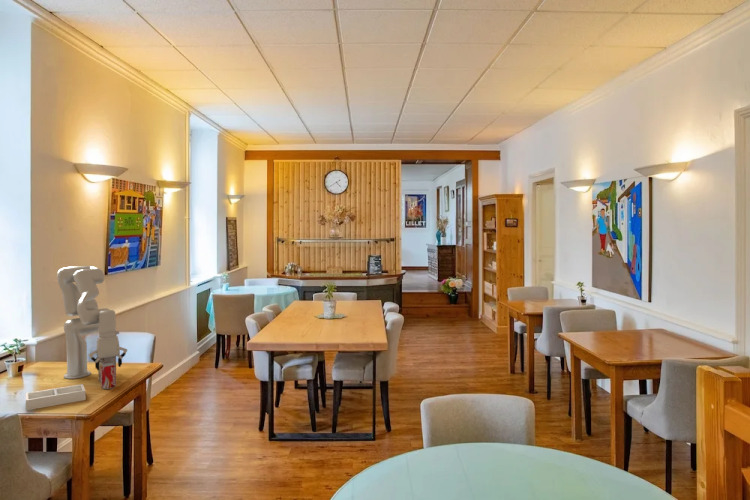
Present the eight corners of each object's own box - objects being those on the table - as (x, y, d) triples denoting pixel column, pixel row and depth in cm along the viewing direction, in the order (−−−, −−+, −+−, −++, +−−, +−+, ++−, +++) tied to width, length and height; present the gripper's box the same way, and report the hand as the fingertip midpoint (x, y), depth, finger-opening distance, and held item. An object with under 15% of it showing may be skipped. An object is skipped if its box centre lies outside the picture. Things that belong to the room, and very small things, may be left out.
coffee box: (97, 380, 262) (97, 351, 262) (110, 378, 267) (110, 348, 266) (104, 384, 256) (103, 354, 256) (117, 381, 261) (116, 351, 260)
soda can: (109, 390, 247) (109, 366, 247) (97, 389, 249) (96, 365, 248) (119, 385, 254) (119, 362, 254) (107, 385, 256) (107, 362, 255)
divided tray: (25, 402, 230) (25, 393, 229) (83, 393, 243) (82, 384, 243) (26, 410, 220) (25, 400, 220) (85, 399, 233) (85, 390, 233)
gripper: (125, 331, 258) (126, 363, 259) (87, 335, 248) (88, 369, 249) (127, 333, 252) (129, 366, 253) (88, 338, 242) (90, 372, 242)
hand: (108, 368), depth 251 cm, fingers open, 9 cm apart
